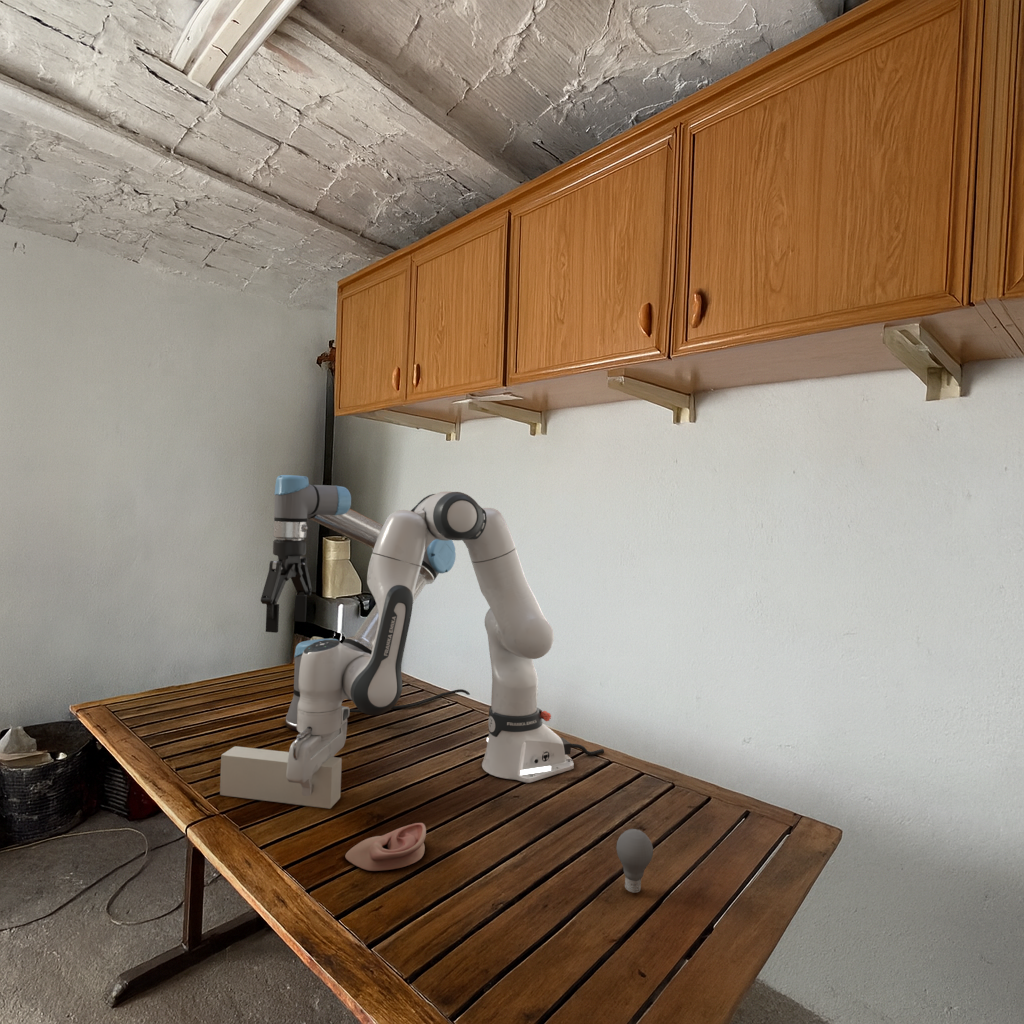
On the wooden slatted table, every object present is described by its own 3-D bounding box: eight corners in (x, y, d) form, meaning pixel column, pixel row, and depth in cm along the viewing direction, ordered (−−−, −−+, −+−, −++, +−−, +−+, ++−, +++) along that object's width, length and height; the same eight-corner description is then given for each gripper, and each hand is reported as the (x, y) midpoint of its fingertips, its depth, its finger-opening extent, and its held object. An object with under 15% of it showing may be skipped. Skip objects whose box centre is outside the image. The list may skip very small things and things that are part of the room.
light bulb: (610, 879, 108) (613, 822, 108) (644, 879, 109) (647, 822, 109) (619, 902, 102) (622, 840, 102) (655, 901, 103) (658, 840, 103)
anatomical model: (337, 842, 109) (366, 811, 120) (336, 865, 109) (365, 832, 120) (410, 854, 106) (432, 821, 117) (409, 878, 106) (432, 842, 118)
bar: (219, 795, 133) (221, 754, 132) (233, 785, 137) (234, 745, 137) (330, 808, 129) (332, 767, 129) (340, 797, 134) (342, 757, 134)
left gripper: (277, 542, 140) (274, 638, 141) (327, 537, 165) (324, 618, 165) (246, 541, 141) (242, 635, 142) (300, 535, 166) (297, 616, 166)
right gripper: (310, 739, 121) (307, 811, 121) (353, 705, 141) (350, 767, 141) (279, 736, 122) (276, 807, 122) (326, 703, 142) (323, 764, 142)
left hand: (286, 626), depth 153 cm, fingers open, 13 cm apart
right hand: (316, 785), depth 132 cm, fingers open, 7 cm apart
